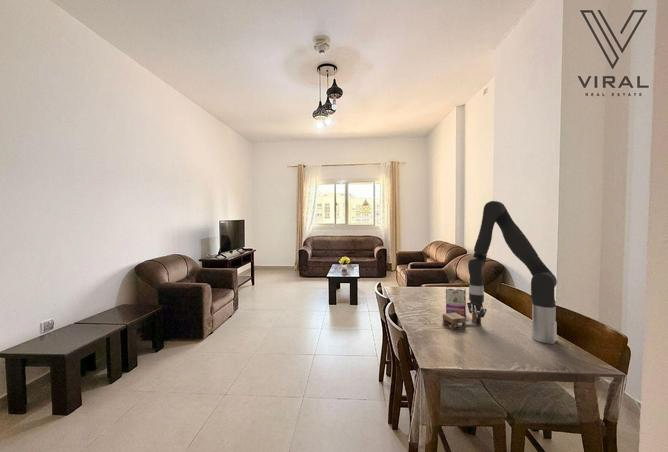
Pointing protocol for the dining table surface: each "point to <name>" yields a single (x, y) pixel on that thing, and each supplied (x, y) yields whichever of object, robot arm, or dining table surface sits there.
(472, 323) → the brown l-shaped stand
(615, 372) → the dining table surface
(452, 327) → the walnut cabinet
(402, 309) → the dining table surface
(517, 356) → the dining table surface
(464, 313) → the candy bar box
